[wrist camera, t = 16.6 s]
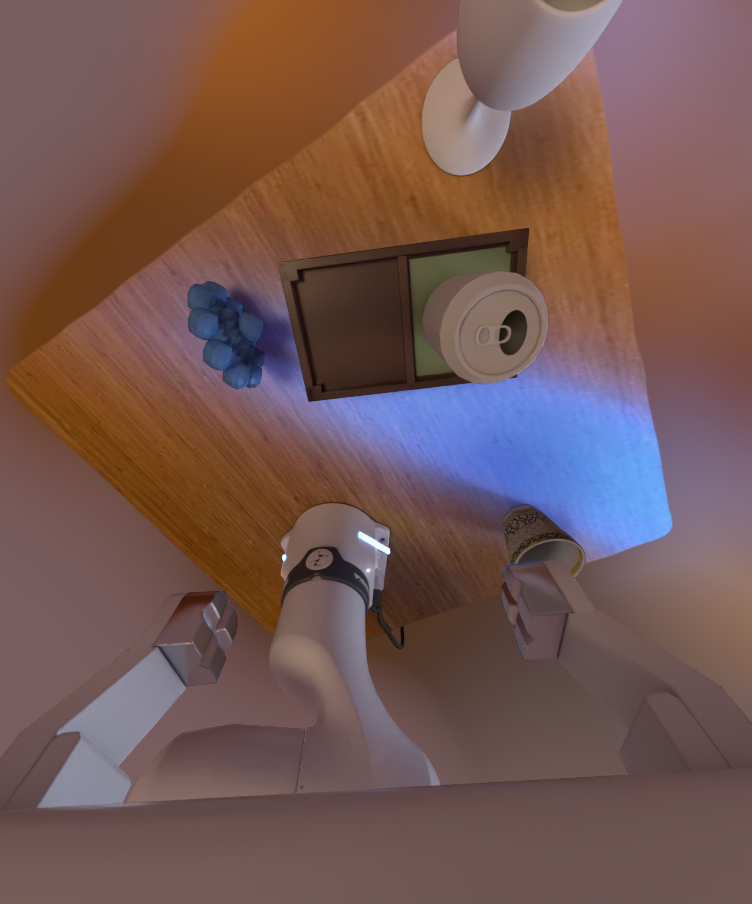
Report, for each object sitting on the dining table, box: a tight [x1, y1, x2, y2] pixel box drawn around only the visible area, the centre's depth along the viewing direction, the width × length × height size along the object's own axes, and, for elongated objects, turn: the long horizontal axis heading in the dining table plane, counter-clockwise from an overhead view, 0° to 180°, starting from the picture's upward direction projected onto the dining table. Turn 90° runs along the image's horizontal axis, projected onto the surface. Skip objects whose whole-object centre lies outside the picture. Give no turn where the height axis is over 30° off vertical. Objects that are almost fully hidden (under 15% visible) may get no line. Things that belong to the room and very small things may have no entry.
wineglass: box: [422, 0, 622, 175], centre depth 23 cm, size 9×9×21 cm
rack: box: [278, 228, 529, 402], centre depth 36 cm, size 13×22×10 cm, turn 97°
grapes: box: [188, 281, 264, 389], centre depth 36 cm, size 12×7×12 cm, turn 22°
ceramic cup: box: [502, 504, 585, 578], centre depth 52 cm, size 13×10×10 cm
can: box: [422, 271, 548, 384], centre depth 27 cm, size 8×8×12 cm
